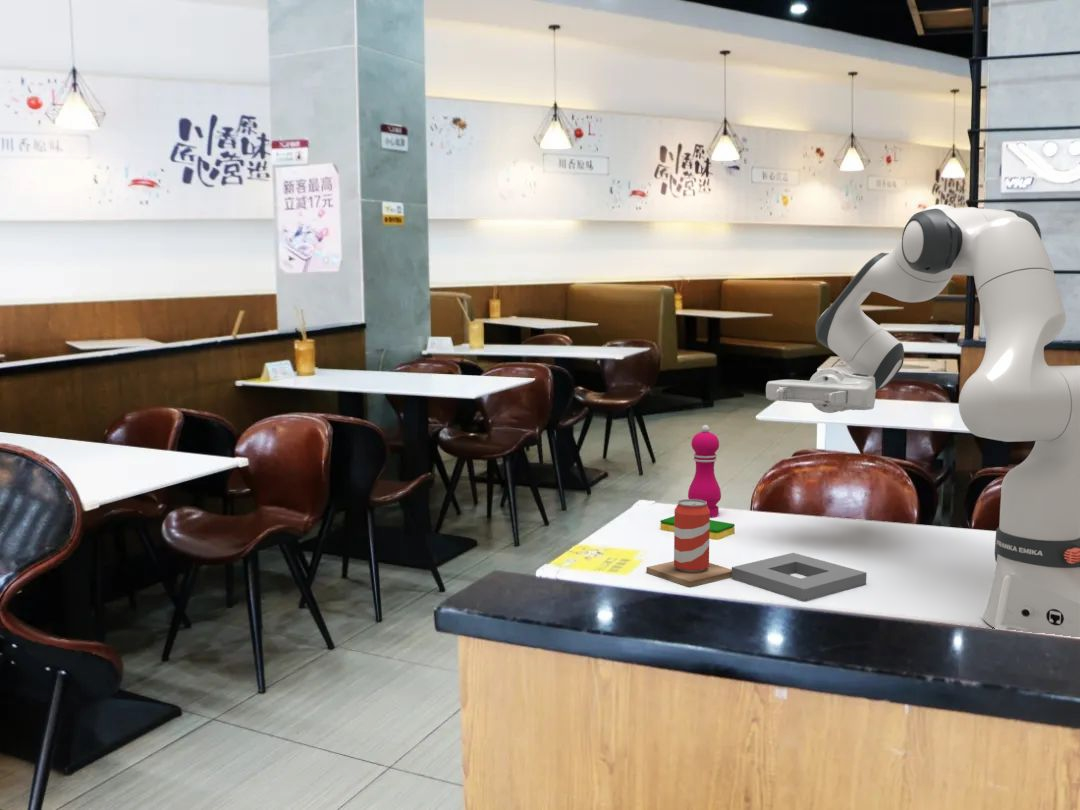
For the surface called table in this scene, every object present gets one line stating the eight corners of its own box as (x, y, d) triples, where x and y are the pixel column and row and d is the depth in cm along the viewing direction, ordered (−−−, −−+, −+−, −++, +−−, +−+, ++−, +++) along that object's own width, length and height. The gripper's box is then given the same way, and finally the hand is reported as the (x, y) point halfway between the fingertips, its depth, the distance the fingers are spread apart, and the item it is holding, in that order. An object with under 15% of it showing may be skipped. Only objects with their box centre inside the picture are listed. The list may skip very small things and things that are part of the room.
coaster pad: (735, 576, 181) (735, 570, 181) (689, 587, 175) (689, 581, 175) (691, 562, 190) (691, 557, 190) (646, 572, 184) (646, 567, 184)
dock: (866, 583, 176) (866, 572, 176) (803, 601, 167) (804, 589, 167) (792, 563, 189) (793, 552, 189) (731, 578, 180) (731, 567, 180)
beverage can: (666, 569, 182) (667, 502, 181) (688, 562, 187) (688, 496, 185) (694, 576, 178) (695, 507, 177) (716, 568, 183) (717, 501, 181)
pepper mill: (720, 518, 224) (721, 427, 222) (686, 517, 226) (687, 427, 223) (721, 511, 231) (722, 423, 229) (688, 510, 233) (689, 422, 230)
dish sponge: (717, 542, 206) (717, 530, 206) (659, 531, 215) (659, 520, 215) (735, 535, 212) (735, 523, 212) (678, 525, 221) (678, 514, 220)
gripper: (782, 371, 209) (752, 376, 198) (883, 376, 197) (856, 382, 186) (781, 402, 210) (751, 409, 199) (882, 409, 197) (855, 417, 187)
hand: (803, 396), depth 192 cm, fingers open, 8 cm apart
